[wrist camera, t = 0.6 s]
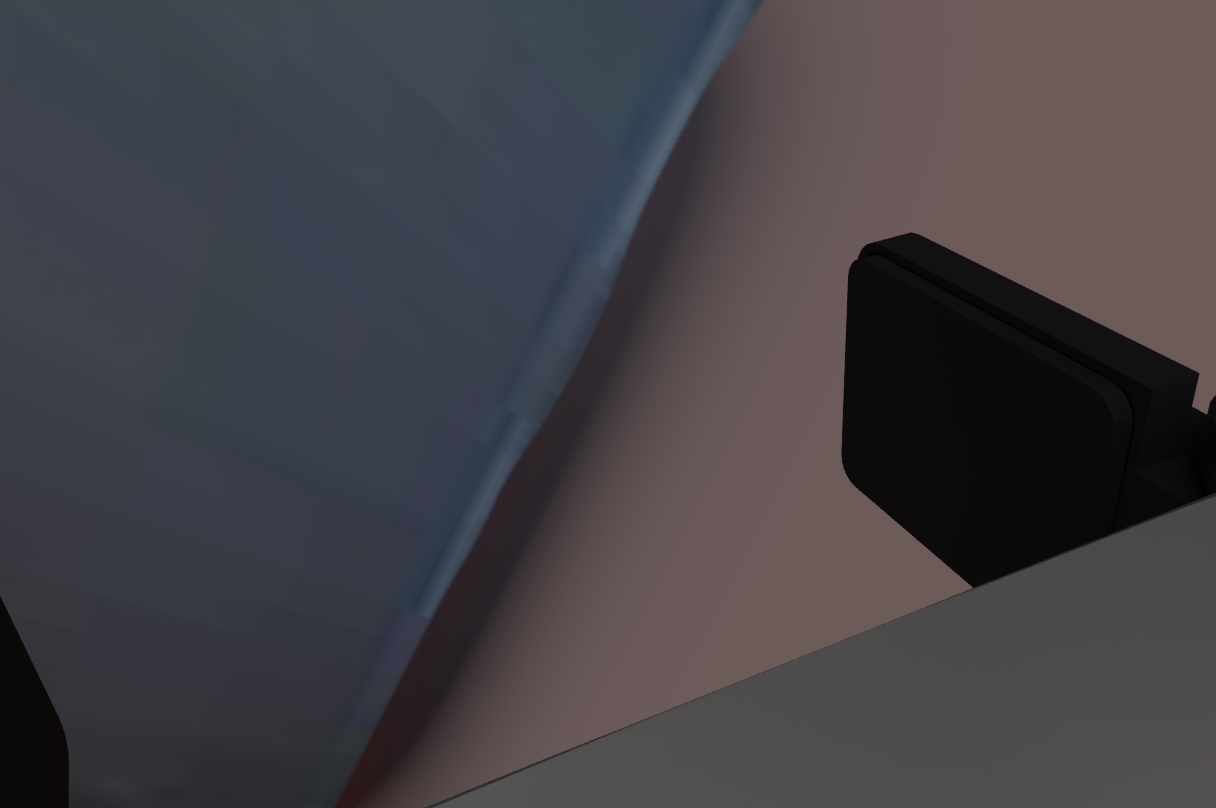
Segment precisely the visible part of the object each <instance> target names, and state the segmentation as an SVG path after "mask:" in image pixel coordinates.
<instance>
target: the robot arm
mask: <svg viewBox="0 0 1216 808" xmlns="http://www.w3.org/2000/svg"><path fill="white" fill-rule="evenodd" d="M845 347H846V348H845V373H844V401H843V426H842V453H841V454H842V463H843V467H844V470H845V472H846V475H847V477H848V478H849V480H850V481H851V483H852V484H853V485H854V486H855V487H856V488H858V489H859V490H860V491H861V492H862V493H863V494H864V495H866V496H867V497H868V498H869V499H870V500H872V501H873V502H874V503H875V504H876V505H877V506H878V507H880V508H881V509H882V510H883V511H884V512H885V513H887V514H888V515H889V516H890V517H891V518H892V519H894V520H895V521H896V522H897V523H898V524H900V525H901V526H902V527H903V528H904V529H905V530H907V531H908V532H909V533H910V534H911V535H912V536H913V537H915V538H916V539H917V540H918V541H919V542H920V543H922V544H923V545H924V546H925V547H926V548H928V549H929V550H930V551H931V552H932V553H933V554H934V555H936V556H937V557H938V558H939V559H940V560H942V561H943V562H944V563H945V564H946V565H947V566H948V567H950V568H951V569H952V570H953V571H954V572H956V573H957V574H958V575H959V576H960V577H961V578H962V579H964V580H965V581H966V582H967V583H968V584H970V585H971V586H972V587H973V588H972V589H970V590H967V591H965V592H962V593H960V594H957V595H955V596H953V597H950V598H948V599H945V600H943V601H940V602H937V603H935V604H932V605H930V606H927V607H925V608H923V609H920V610H918V611H915V612H913V613H910V614H907V615H905V616H902V617H900V618H898V619H895V620H892V621H890V622H888V623H885V624H882V625H880V626H877V627H875V628H872V629H870V630H867V631H865V632H862V633H860V634H857V635H855V636H852V637H850V638H847V639H845V640H842V641H840V642H837V643H835V644H832V645H830V646H827V647H825V648H822V649H820V650H817V651H815V652H812V653H810V654H807V655H805V656H802V657H800V658H798V659H795V660H792V661H790V662H787V663H785V664H782V665H780V666H777V667H775V668H772V669H770V670H767V671H765V672H762V673H760V674H757V675H755V676H752V677H750V678H747V679H745V680H742V681H740V682H737V683H735V684H732V685H730V686H727V687H725V688H722V689H720V690H717V691H714V692H712V693H709V694H707V695H705V696H702V697H699V698H697V699H694V700H692V701H690V702H687V703H684V704H682V705H680V706H677V707H674V708H672V709H670V710H667V711H664V712H662V713H659V714H657V715H654V716H652V717H649V718H647V719H644V720H642V721H639V722H637V723H634V724H632V725H629V726H627V727H624V728H622V729H619V730H617V731H614V732H612V733H609V734H607V735H604V736H602V737H599V738H597V739H594V740H591V741H589V742H586V743H584V744H581V745H579V746H576V747H574V748H571V749H569V750H566V751H564V752H561V753H559V754H556V755H554V756H551V757H549V758H546V759H544V760H541V761H539V762H536V763H534V764H531V765H529V766H527V767H524V768H522V769H519V770H517V771H514V772H512V773H509V774H507V775H504V776H502V777H499V778H497V779H494V780H492V781H489V782H487V783H484V784H482V785H480V786H477V787H475V788H472V789H470V790H467V791H465V792H462V793H460V794H457V795H455V796H453V797H450V798H447V799H445V800H442V801H440V802H438V803H435V804H433V805H430V806H428V807H425V808H1216V396H1215V397H1214V398H1213V399H1212V400H1211V402H1210V405H1209V409H1208V413H1207V414H1205V413H1203V412H1201V411H1199V410H1197V409H1195V408H1193V407H1192V403H1193V399H1194V395H1195V390H1196V386H1197V382H1198V377H1199V373H1198V372H1196V371H1193V370H1192V369H1190V368H1188V367H1186V366H1184V365H1182V364H1179V363H1178V362H1176V361H1174V360H1172V359H1170V358H1167V357H1165V356H1163V355H1161V354H1159V353H1157V352H1155V351H1153V350H1151V349H1149V348H1147V347H1145V346H1143V345H1141V344H1139V343H1137V342H1135V341H1133V340H1131V339H1129V338H1127V337H1125V336H1123V335H1121V334H1119V333H1117V332H1115V331H1113V330H1111V329H1109V328H1107V327H1105V326H1103V325H1101V324H1099V323H1097V322H1095V321H1093V320H1091V319H1089V318H1087V317H1085V316H1083V315H1081V314H1079V313H1076V312H1074V311H1073V310H1070V309H1068V308H1066V307H1064V306H1062V305H1060V304H1058V303H1056V302H1054V301H1052V300H1050V299H1048V298H1046V297H1044V296H1042V295H1040V294H1038V293H1036V292H1034V291H1032V290H1030V289H1028V288H1026V287H1024V286H1022V285H1020V284H1018V283H1016V282H1014V281H1012V280H1010V279H1008V278H1006V277H1004V276H1002V275H1000V274H997V273H996V272H994V271H992V270H990V269H988V268H985V267H984V266H982V265H979V264H978V263H976V262H973V261H972V260H970V259H967V258H965V257H963V256H961V255H959V254H957V253H955V252H953V251H951V250H949V249H947V248H945V247H943V246H941V245H939V244H937V243H935V242H933V241H931V240H929V239H927V238H925V237H923V236H921V235H919V234H915V233H912V232H911V233H908V234H904V235H900V236H896V237H893V238H888V239H885V240H881V241H877V242H873V243H870V244H867V245H866V246H864V248H863V249H862V250H861V252H860V254H859V256H858V259H857V260H855V261H854V262H853V263H852V264H851V266H850V269H849V274H848V294H847V321H846V346H845ZM0 808H69V756H68V747H67V742H66V738H65V733H64V730H63V727H62V724H61V722H60V719H59V717H58V715H57V713H56V711H55V709H54V706H53V704H52V702H51V700H50V698H49V696H48V694H47V692H46V690H45V688H44V686H43V684H42V682H41V680H40V678H39V675H38V673H37V671H36V669H35V667H34V665H33V663H32V661H31V659H30V657H29V655H28V653H27V651H26V649H25V646H24V644H23V642H22V640H21V638H20V636H19V634H18V632H17V630H16V628H15V626H14V624H13V622H12V620H11V617H10V615H9V613H8V611H7V609H6V607H5V605H4V603H3V601H2V599H1V597H0Z"/></svg>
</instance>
